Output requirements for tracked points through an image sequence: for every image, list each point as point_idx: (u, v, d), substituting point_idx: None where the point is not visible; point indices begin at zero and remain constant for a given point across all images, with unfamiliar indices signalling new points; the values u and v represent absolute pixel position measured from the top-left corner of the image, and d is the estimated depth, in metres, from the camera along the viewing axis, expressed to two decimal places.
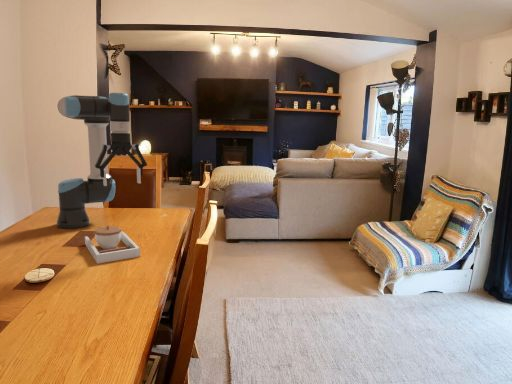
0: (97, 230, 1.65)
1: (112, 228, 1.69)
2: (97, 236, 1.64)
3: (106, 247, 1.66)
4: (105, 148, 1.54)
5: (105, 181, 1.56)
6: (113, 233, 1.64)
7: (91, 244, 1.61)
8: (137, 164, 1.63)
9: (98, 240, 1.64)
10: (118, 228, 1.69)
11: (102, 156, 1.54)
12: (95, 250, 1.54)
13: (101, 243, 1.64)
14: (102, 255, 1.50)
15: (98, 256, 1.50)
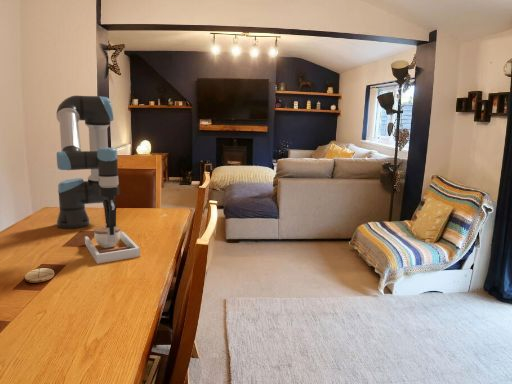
0: (96, 229, 1.66)
1: None
2: (96, 235, 1.65)
3: (105, 246, 1.66)
4: (104, 203, 1.64)
5: None
6: None
7: (91, 244, 1.61)
8: None
9: (97, 239, 1.65)
10: (117, 227, 1.70)
11: None
12: (95, 250, 1.54)
13: (100, 242, 1.65)
14: (102, 255, 1.50)
15: (98, 256, 1.50)
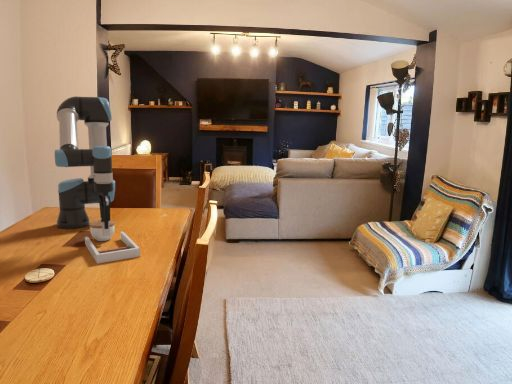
0: (92, 223, 1.75)
1: None
2: (92, 229, 1.73)
3: (100, 239, 1.75)
4: None
5: (102, 231, 1.71)
6: None
7: (91, 244, 1.61)
8: None
9: (93, 232, 1.73)
10: (112, 221, 1.79)
11: None
12: (95, 250, 1.54)
13: (95, 235, 1.73)
14: (102, 255, 1.50)
15: (98, 256, 1.50)
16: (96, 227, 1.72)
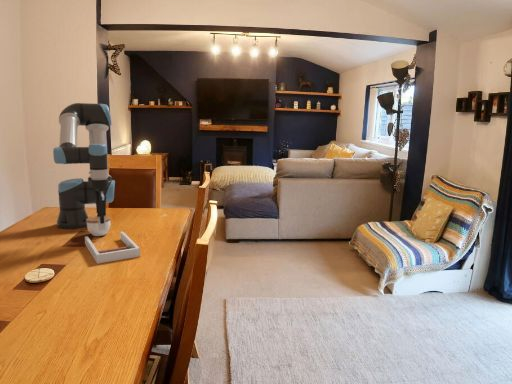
0: (88, 219, 1.81)
1: None
2: (88, 224, 1.80)
3: (97, 234, 1.81)
4: None
5: None
6: None
7: (91, 244, 1.61)
8: None
9: (89, 228, 1.80)
10: (108, 217, 1.85)
11: (96, 202, 1.79)
12: (95, 250, 1.54)
13: (92, 230, 1.80)
14: (102, 255, 1.50)
15: (98, 256, 1.50)
16: (92, 222, 1.79)
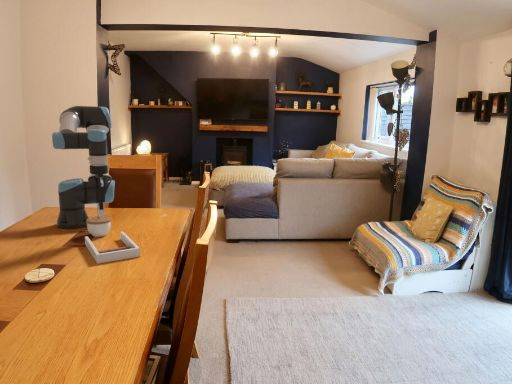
0: (88, 220, 1.81)
1: (102, 218, 1.85)
2: (88, 225, 1.80)
3: (97, 235, 1.81)
4: (94, 181, 1.79)
5: None
6: (103, 222, 1.80)
7: (91, 244, 1.61)
8: None
9: (89, 228, 1.80)
10: (108, 218, 1.85)
11: (95, 188, 1.79)
12: (95, 250, 1.54)
13: (92, 231, 1.80)
14: (102, 255, 1.50)
15: (98, 256, 1.50)
16: (93, 223, 1.78)
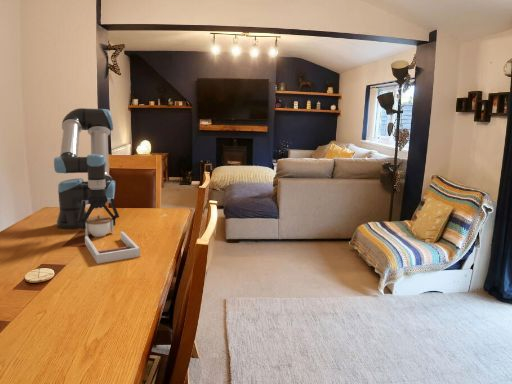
0: (88, 220, 1.81)
1: (102, 218, 1.85)
2: (89, 225, 1.80)
3: (97, 235, 1.81)
4: (84, 204, 1.78)
5: (86, 232, 1.80)
6: (103, 222, 1.80)
7: (91, 244, 1.61)
8: None
9: (89, 228, 1.80)
10: (108, 218, 1.85)
11: (82, 211, 1.78)
12: (95, 250, 1.54)
13: (92, 231, 1.80)
14: (102, 255, 1.50)
15: (98, 256, 1.50)
16: (93, 223, 1.78)
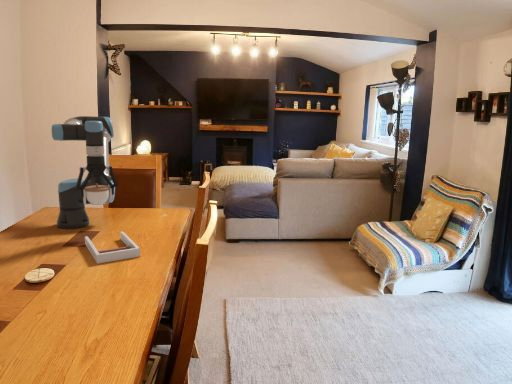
0: (87, 187, 1.78)
1: (101, 186, 1.82)
2: (87, 192, 1.77)
3: (95, 203, 1.79)
4: (82, 170, 1.75)
5: (84, 200, 1.78)
6: (102, 190, 1.77)
7: (91, 244, 1.61)
8: (109, 184, 1.83)
9: (88, 196, 1.77)
10: (107, 186, 1.82)
11: (80, 178, 1.75)
12: (95, 250, 1.54)
13: (90, 199, 1.77)
14: (102, 255, 1.50)
15: (98, 256, 1.50)
16: (91, 191, 1.76)
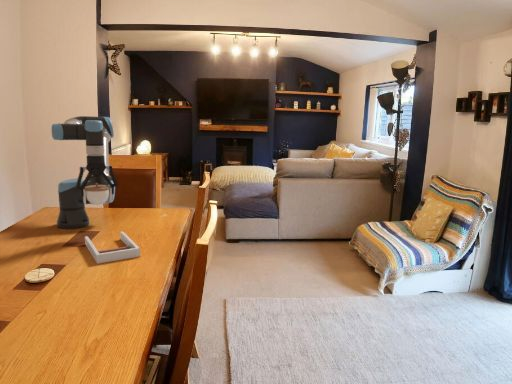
0: (87, 187, 1.78)
1: (101, 186, 1.82)
2: (87, 192, 1.77)
3: (95, 203, 1.78)
4: (82, 170, 1.75)
5: (84, 200, 1.77)
6: (101, 189, 1.77)
7: (91, 244, 1.61)
8: (109, 184, 1.83)
9: (88, 196, 1.77)
10: (106, 186, 1.82)
11: (80, 177, 1.75)
12: (95, 250, 1.54)
13: (90, 198, 1.77)
14: (102, 255, 1.50)
15: (98, 256, 1.50)
16: (91, 190, 1.76)
